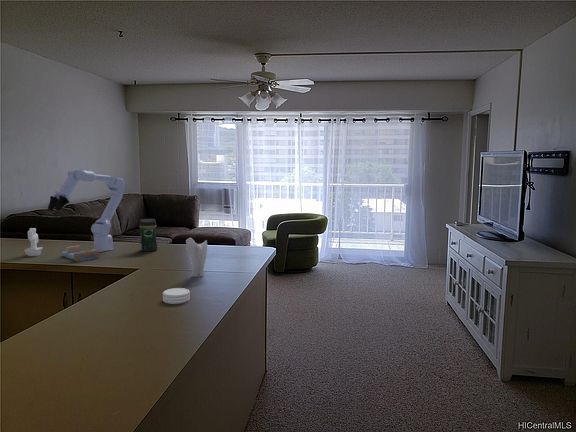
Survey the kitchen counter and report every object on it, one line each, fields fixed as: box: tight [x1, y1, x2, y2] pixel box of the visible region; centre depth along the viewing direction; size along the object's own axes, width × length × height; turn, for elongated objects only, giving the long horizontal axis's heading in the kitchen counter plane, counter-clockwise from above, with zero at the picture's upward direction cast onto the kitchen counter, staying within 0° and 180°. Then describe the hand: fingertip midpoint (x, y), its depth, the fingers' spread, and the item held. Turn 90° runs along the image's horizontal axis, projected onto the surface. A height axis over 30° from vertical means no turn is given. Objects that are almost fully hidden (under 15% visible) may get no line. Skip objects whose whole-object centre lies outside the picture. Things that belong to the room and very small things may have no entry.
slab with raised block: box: [61, 244, 84, 258], centre depth 240 cm, size 9×5×5 cm, turn 143°
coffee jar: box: [138, 218, 158, 252], centre depth 255 cm, size 10×8×19 cm
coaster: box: [162, 287, 191, 305], centre depth 166 cm, size 10×10×4 cm
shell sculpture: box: [185, 237, 208, 278], centre depth 200 cm, size 8×8×18 cm
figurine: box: [23, 227, 44, 257], centre depth 239 cm, size 7×9×15 cm
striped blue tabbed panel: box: [66, 249, 100, 263], centre depth 234 cm, size 12×14×4 cm
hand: (53, 209), depth 228 cm, fingers open, 7 cm apart
